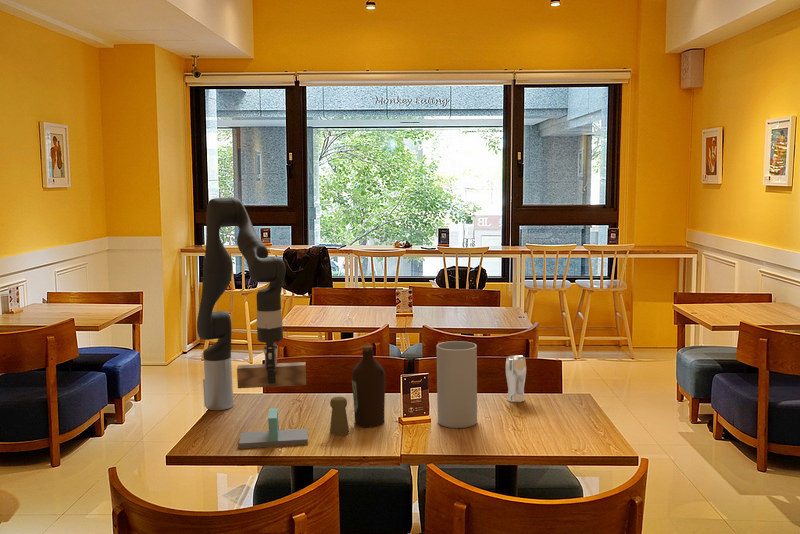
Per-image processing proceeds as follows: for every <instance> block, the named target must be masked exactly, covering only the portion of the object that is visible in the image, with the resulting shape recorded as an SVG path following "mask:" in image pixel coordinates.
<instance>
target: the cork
mask: <svg viewBox="0 0 800 534" xmlns="http://www.w3.org/2000/svg"><path fill="white" fill-rule="evenodd" d="M329 404H330V407H331V418H330V426H329V434H330V435H333V436H344V434H345V435H347V433H348V432H349V433H350V428H349V423H348V422H349V421H348V415H347V410H346V407H347V406H348V405H347V404H348V399H346V397H345V396H333V397H332V398H331V399H330V402H329ZM349 433H348V434H349Z"/></svg>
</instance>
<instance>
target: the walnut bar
mask: <svg viewBox="0 0 800 534" xmlns="http://www.w3.org/2000/svg"><path fill="white" fill-rule="evenodd" d="M306 364H307V363H306V361H299V362H298V361H297V362H279V363H277V362H276V364H275V368H276V370H275V379H276V382H275V383H274V384H269V383H268V371H267V370H266V368H267V367H266V363H259V364H258V363H256V364H237V367H236V376H237V377H236V378H237V379H236V381H237V389H251V388H252V389H254V388H257V389H258V388H275V387H292V386H293V387H294V386H306V385H307V373H306V372H307V369H306V367H307V365H306ZM271 366H273V364H269V367H271Z"/></svg>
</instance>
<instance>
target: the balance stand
mask: <svg viewBox="0 0 800 534" xmlns="http://www.w3.org/2000/svg"><path fill="white" fill-rule="evenodd" d="M267 417H268V422H267V424H268V430H259V431H242V432H241V433H240V438H239V441H238V442H239V443H238V448H239V449H250V448H251V449H252V448H267V447H284V446H301V445H308V444H309V436H308V434H309V433H308V428H295V429H294V428H292V429H279V408H278V407H271V408H269V410H268V416H267Z"/></svg>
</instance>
